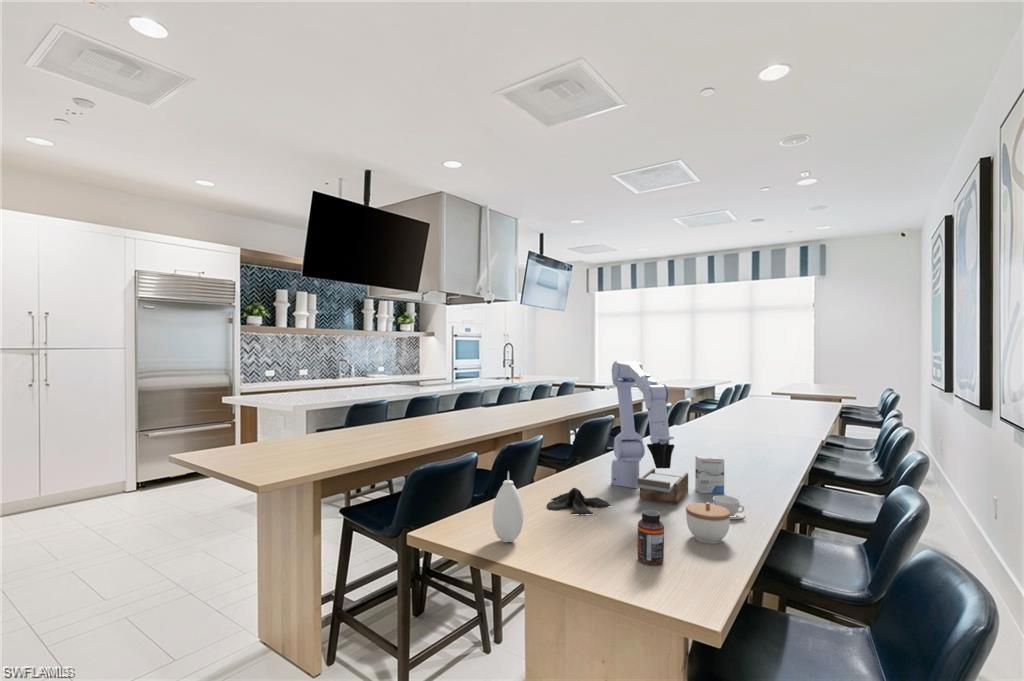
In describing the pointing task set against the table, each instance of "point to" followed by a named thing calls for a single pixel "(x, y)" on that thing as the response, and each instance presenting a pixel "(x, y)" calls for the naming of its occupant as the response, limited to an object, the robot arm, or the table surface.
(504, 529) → the air blower bulb
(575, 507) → the cloth
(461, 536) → the table surface
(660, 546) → the supplement bottle
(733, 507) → the teacup
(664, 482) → the lid
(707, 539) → the lidded jar
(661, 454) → the robot arm
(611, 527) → the table surface
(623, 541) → the table surface
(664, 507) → the table surface
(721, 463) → the ink box
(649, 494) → the walnut box
